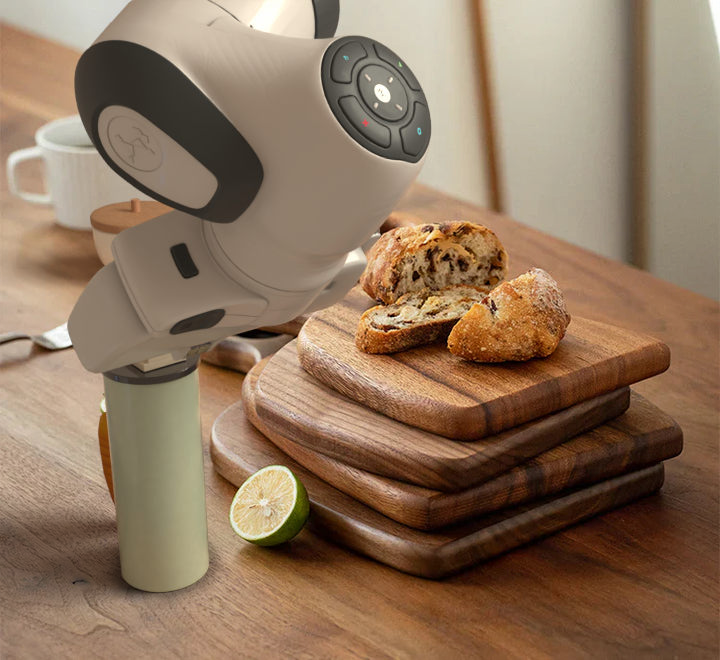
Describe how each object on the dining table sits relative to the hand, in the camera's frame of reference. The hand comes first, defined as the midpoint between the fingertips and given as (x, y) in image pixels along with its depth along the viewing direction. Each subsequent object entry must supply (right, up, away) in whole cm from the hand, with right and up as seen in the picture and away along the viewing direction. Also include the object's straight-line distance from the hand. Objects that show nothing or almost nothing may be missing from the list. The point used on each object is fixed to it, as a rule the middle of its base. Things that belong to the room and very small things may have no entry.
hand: (187, 347), depth 76 cm
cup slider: (-3, -1, +5) cm, 6 cm away
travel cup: (-4, -18, +13) cm, 23 cm away
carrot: (-7, -16, +18) cm, 25 cm away
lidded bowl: (-19, +9, +78) cm, 81 cm away
